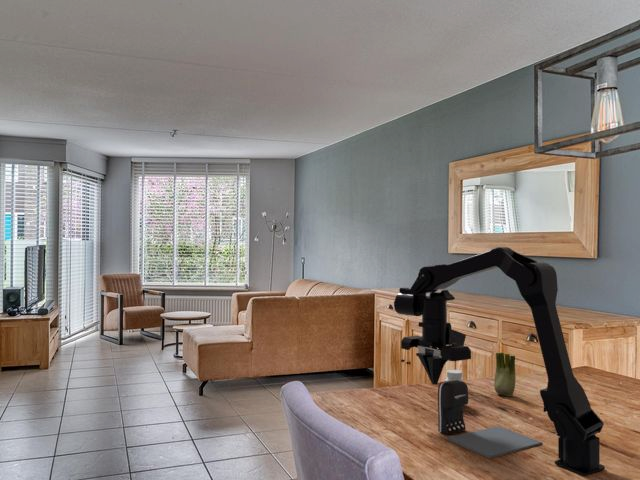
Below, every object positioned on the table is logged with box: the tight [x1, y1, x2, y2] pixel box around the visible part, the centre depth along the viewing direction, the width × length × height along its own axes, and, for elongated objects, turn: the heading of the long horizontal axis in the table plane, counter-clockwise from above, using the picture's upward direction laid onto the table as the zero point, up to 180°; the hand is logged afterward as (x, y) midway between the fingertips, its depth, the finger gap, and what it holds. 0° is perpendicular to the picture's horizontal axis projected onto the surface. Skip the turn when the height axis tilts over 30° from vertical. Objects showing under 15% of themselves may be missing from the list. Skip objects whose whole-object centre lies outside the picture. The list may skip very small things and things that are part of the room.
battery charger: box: [437, 380, 469, 435], centre depth 124 cm, size 7×4×11 cm, turn 124°
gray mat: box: [446, 425, 543, 459], centre depth 117 cm, size 12×16×1 cm
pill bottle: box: [444, 369, 466, 383], centre depth 145 cm, size 5×5×9 cm
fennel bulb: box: [493, 352, 517, 397], centre depth 154 cm, size 6×5×12 cm
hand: (434, 384), depth 129 cm, fingers closed
